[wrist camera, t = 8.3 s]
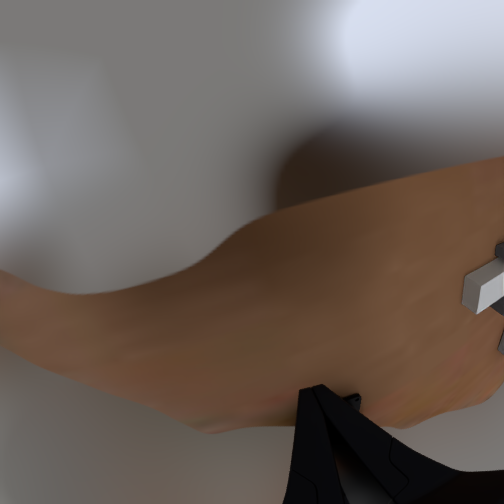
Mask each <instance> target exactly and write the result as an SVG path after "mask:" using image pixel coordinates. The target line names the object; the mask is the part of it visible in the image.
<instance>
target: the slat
mask: <svg viewBox="0 0 504 504" xmlns="http://www.w3.org/2000/svg"><path fill="white" fill-rule="evenodd" d="M503 296H504V259H502V258H500V257H498V258H496V259H495V260H493V261H491V262H490V263H488V264H486V265H484V266H482V267H481V268H479V269H477V270H475V271H473V272H472V273H470V274H468V275H466V276H465V279H464V289H463V297H462V304H463V305H464V306H466V307H467V308H468V309H470V310H471V311H472V312H474V313H475V314H476V315H477V314H478V313H480V312H481V311H483V310H484V309H486V308H487V307H488V306H490V305H491V304H493V303H494V302H496V301H497V300H498V299H500V298H501V297H503Z"/></svg>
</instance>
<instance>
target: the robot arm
mask: <svg viewBox="0 0 504 504" xmlns="http://www.w3.org/2000/svg"><path fill="white" fill-rule="evenodd" d="M360 404H361V396H360V395H359V394H356V395H353V396H350V397H347V398H344V399H342V398H340V397H339V396H338V395H336V394H335V393H334V392H333V391H331V390H330V389H329V388H327V387H326V386H325V385H323V384H320V385H316V386H312V387H311V388H310V387H308V388H304V389H300V390H299V395H298V406H297V416H296V425H295V434H294V442H293V450H292V458H291V465H290V472H289V478H288V484H287V489H286V493H285V497H284V500H283V503H282V504H504V470H495V471H478V472H465V471H459V470H455V469H452V468H450V467H447V466H445V465H443V464H441V463H439V462H436V461H434V460H432V459H430V458H428V457H426V456H424V455H422V454H420V453H418V452H416V451H414V450H412V449H411V448H409V447H408V446H406V445H405V444H403V443H401V442H400V441H399V440H397V439H396V438H394V437H393V438H392V436H391V435H390V434H389V433H387V432H386V431H384V430H383V429H382V428H380V427H379V426H378V425H376V424H375V423H373V422H372V421H371V420H369V419H368V418H367V417H365V416H364V415H363V414H361V413H360V412H359V410H360Z"/></svg>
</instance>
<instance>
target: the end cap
mask: <svg viewBox="0 0 504 504" xmlns="http://www.w3.org/2000/svg"><path fill="white" fill-rule="evenodd" d="M495 255H496V256H498V257H500V258H502V259H504V243H501V244H498V245H496V252H495ZM490 307H492V308H493V309H494V310H496V311H497V312H499V313H500V314H501V315H503V316H504V296H503V297H501V298H500V299H498V300H497V301H496V302H494V303H493V304H491V305H490Z"/></svg>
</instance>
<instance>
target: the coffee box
mask: <svg viewBox="0 0 504 504" xmlns="http://www.w3.org/2000/svg"><path fill="white" fill-rule="evenodd" d="M498 350H499V351H500V352H501V353H502V354H503V355H504V332H503V336H502V339H501V342H500V345H499V347H498Z"/></svg>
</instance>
